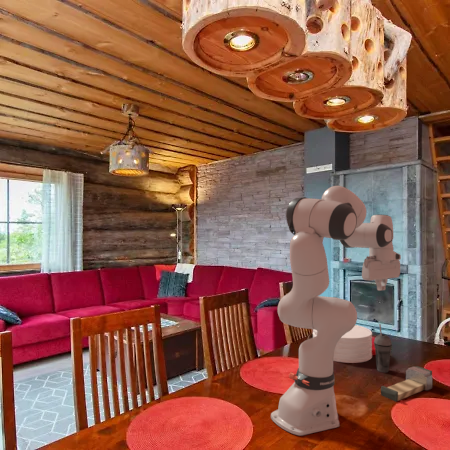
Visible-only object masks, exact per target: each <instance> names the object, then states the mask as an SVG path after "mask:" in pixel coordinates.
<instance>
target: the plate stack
mask: <svg viewBox="0 0 450 450" xmlns="http://www.w3.org/2000/svg"><path fill="white" fill-rule="evenodd" d="M316 336H317V330H314V329H312V338H314V337H316ZM372 342H373V332H372V331H371V329H369V328H367V327H365V326H361V325H356V324H355V326H354V327H353V329H352V330H350V331H349V332H347V333H346V334H344V335H343V336H342V337H341V338H340V339H339V341H338V342H337V344H336V347H335V350H334V357H333V362H338V363H347V364H349V363H352V364H354V363H356V364H357V363H364V362H365V363H366V362H368V361H369V360H371V359H372V358H373V352H372V351H373V348H372V347H373V343H372Z"/></svg>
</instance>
